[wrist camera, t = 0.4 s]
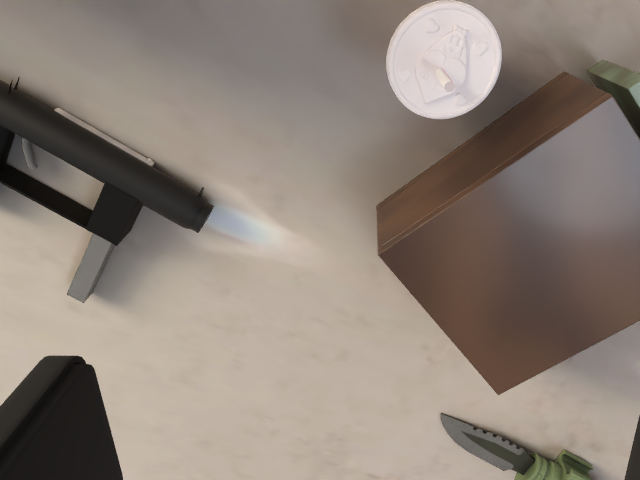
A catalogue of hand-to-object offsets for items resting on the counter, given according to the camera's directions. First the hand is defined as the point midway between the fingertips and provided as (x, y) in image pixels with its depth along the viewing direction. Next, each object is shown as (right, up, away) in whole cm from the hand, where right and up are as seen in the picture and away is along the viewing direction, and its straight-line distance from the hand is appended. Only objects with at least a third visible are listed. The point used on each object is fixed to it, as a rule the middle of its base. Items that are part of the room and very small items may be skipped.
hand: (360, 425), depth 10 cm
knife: (+19, -18, +46) cm, 53 cm away
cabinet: (+15, +5, +35) cm, 39 cm away
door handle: (-21, +6, +38) cm, 44 cm away
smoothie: (+7, +17, +30) cm, 36 cm away
